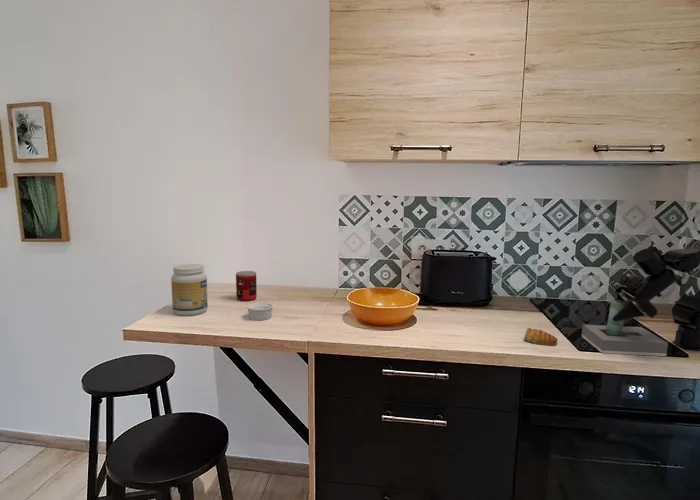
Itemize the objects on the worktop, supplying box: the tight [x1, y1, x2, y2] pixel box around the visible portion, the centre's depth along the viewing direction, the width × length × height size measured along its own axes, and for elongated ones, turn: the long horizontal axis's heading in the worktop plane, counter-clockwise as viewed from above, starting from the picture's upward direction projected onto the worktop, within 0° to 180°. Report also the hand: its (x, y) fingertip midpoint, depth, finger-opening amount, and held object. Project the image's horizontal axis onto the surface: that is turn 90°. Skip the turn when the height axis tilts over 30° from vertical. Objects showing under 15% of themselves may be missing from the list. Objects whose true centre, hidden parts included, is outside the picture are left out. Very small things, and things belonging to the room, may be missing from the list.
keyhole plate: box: [581, 324, 669, 357], centre depth 138 cm, size 18×14×4 cm
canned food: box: [235, 270, 258, 303], centre depth 181 cm, size 8×8×11 cm
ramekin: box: [246, 302, 274, 322], centre depth 159 cm, size 9×9×4 cm
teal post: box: [606, 299, 626, 336], centre depth 137 cm, size 4×4×13 cm
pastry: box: [523, 327, 558, 347], centre depth 140 cm, size 9×7×4 cm
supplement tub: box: [170, 263, 209, 317], centre depth 163 cm, size 12×12×17 cm
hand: (609, 317), depth 137 cm, fingers open, 5 cm apart
